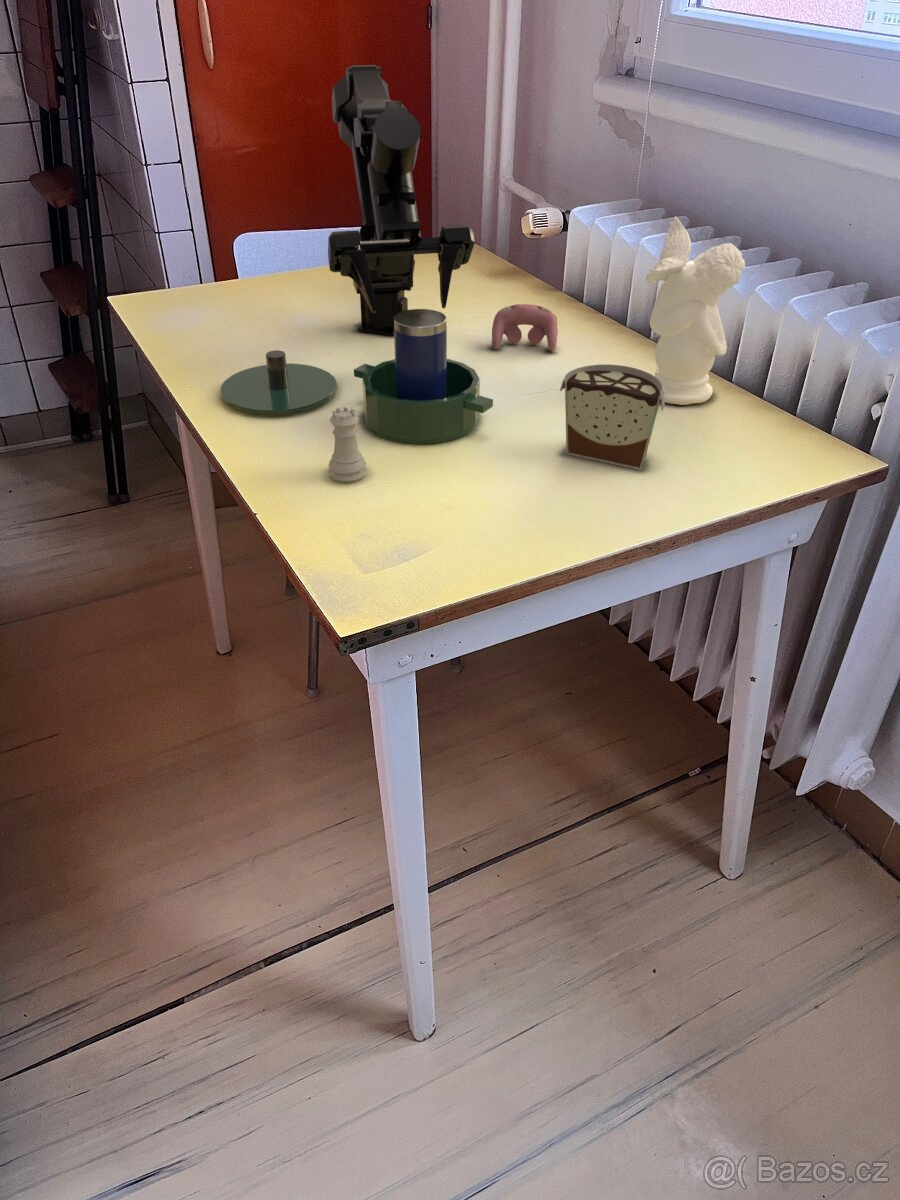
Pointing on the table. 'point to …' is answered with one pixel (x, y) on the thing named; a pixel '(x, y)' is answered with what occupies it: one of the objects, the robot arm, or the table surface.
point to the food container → (611, 413)
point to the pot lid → (278, 386)
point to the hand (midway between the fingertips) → (409, 309)
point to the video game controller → (525, 315)
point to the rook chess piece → (346, 448)
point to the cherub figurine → (690, 313)
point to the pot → (421, 405)
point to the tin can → (420, 355)
